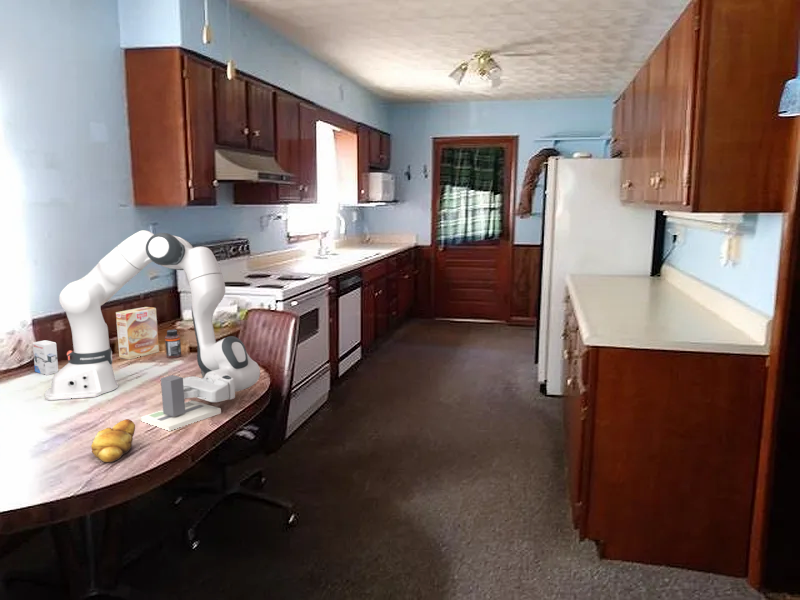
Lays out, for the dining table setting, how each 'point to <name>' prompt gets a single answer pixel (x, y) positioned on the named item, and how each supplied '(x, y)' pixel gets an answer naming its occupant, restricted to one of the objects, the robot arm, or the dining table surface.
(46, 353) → the ink box
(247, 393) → the dining table surface
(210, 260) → the robot arm
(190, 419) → the switch panel
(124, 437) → the bread roll
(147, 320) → the coffeecake box
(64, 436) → the dining table surface
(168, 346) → the supplement bottle
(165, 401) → the switch tab
